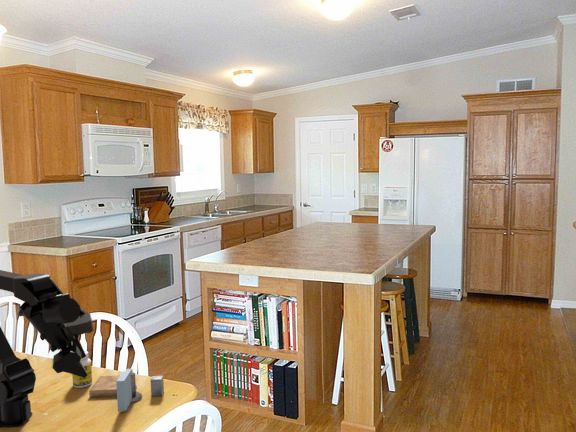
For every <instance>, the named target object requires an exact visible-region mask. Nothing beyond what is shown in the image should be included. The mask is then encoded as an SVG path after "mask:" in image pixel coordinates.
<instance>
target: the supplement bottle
mask: <svg viewBox="0 0 576 432" xmlns="http://www.w3.org/2000/svg"><path fill="white" fill-rule="evenodd" d="M84 352H85V354H86V357H84V358H81V360H80V361H81V363H82V365H83V366H84V368H85V370H86V372H87V374H88V376H86V377H85V378H83V377H80V376H77V375H74V374H71V377H72V386H73V387H74V388H77V389H82V388H86V387H88V386H90V385H92V384H93V371H92V360H91V359H90V358H89V357H90V356H89V351H87V350H84Z"/></svg>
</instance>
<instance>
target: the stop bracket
mask: <svg viewBox="0 0 576 432" xmlns="http://www.w3.org/2000/svg"><path fill="white" fill-rule="evenodd" d="M164 388H165V386H164V375H152V376H151V377H150V395H151V397H152V398H153V397H154V398H156V397H163V395H164V393H165V389H164Z"/></svg>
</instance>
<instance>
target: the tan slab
mask: <svg viewBox="0 0 576 432" xmlns="http://www.w3.org/2000/svg"><path fill="white" fill-rule="evenodd" d="M120 375H121V374H117V375H114V374H113V375H99V377H98V378H97V380H96V381H95V382H94V383H93V385H92V387H90V389H89V390H88V392H89V393H88V394H89V395H88V396H89V398H101V397H103V398H105V397H117V385H116V381H117V379H118V378H119V377H120ZM136 384H137V383H136V373H135V372H132V374H131V391H132V401H131V402H130V404H133V403H137V402H138V401H140V400H142V398H143V393H141V392H139V391H137V389H138V387H137V385H136Z"/></svg>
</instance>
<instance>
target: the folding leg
mask: <svg viewBox="0 0 576 432" xmlns="http://www.w3.org/2000/svg"><path fill="white" fill-rule="evenodd" d="M133 371H134V370H133V368H126V369H125V370H124V371H122V372H121V373H120V374H119V375H120V377H119V378H118V379H117V381H116V385H117V396H116V401H117V412H126V411H127V409H128V408H129V405H130V404H131V403H130V402H131V401H132V391H131V374H132V372H133ZM133 373H134V372H133Z"/></svg>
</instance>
